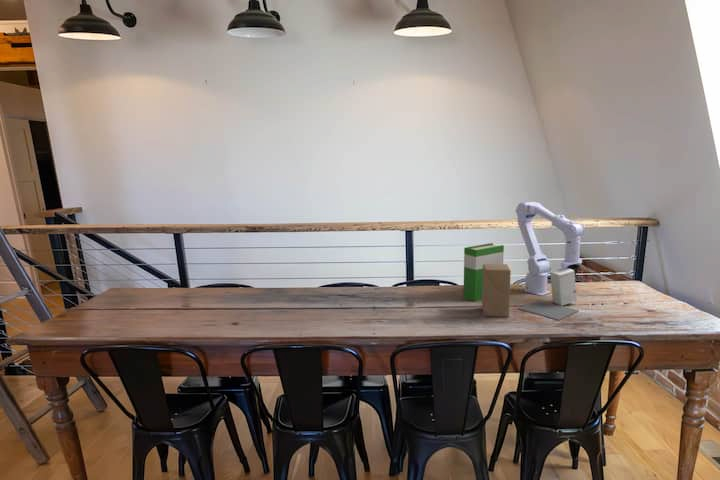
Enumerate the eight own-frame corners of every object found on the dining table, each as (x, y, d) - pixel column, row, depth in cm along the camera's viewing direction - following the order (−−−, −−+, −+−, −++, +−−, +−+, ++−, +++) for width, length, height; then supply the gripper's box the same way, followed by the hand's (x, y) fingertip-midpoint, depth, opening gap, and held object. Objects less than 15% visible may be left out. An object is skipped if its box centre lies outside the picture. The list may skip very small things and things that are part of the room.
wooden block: (509, 317, 177) (510, 270, 174) (483, 316, 179) (485, 269, 176) (505, 308, 187) (507, 264, 183) (481, 308, 189) (482, 263, 185)
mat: (518, 309, 187) (518, 308, 186) (539, 300, 196) (539, 300, 196) (558, 320, 172) (558, 319, 172) (578, 311, 182) (579, 310, 182)
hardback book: (490, 290, 212) (491, 243, 208) (502, 294, 206) (503, 245, 202) (463, 297, 204) (464, 247, 199) (474, 301, 197) (476, 250, 193)
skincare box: (561, 306, 188) (558, 275, 183) (551, 301, 193) (548, 271, 189) (577, 300, 189) (575, 269, 185) (567, 296, 195) (565, 265, 191)
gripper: (573, 254, 182) (571, 285, 185) (589, 249, 191) (587, 279, 193) (557, 252, 188) (555, 282, 190) (573, 247, 196) (572, 276, 199)
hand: (570, 280), depth 192 cm, fingers closed
